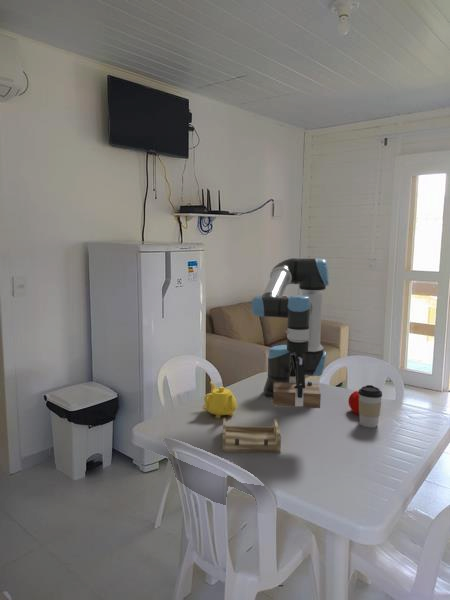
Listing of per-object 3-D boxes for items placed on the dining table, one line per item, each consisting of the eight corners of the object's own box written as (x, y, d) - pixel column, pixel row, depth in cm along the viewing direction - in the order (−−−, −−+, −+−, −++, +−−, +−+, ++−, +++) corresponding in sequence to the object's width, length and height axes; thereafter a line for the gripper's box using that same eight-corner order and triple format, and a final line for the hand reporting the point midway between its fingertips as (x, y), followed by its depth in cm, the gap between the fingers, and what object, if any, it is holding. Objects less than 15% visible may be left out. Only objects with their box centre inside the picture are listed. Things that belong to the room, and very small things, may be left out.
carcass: (223, 432, 170) (223, 418, 169) (275, 432, 170) (276, 419, 169) (222, 451, 154) (222, 436, 153) (280, 452, 154) (281, 437, 153)
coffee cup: (382, 429, 174) (384, 392, 172) (357, 427, 176) (359, 390, 174) (378, 420, 183) (380, 385, 181) (355, 418, 185) (357, 383, 183)
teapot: (193, 408, 194) (193, 383, 192) (224, 403, 200) (224, 378, 199) (213, 425, 176) (213, 397, 174) (246, 419, 182) (246, 392, 181)
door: (273, 395, 166) (273, 379, 165) (317, 397, 164) (317, 381, 164) (273, 405, 155) (273, 389, 155) (320, 408, 154) (320, 391, 153)
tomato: (376, 419, 184) (377, 398, 183) (346, 414, 189) (347, 394, 188) (378, 410, 194) (379, 390, 193) (349, 406, 198) (350, 386, 197)
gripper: (282, 332, 169) (280, 388, 172) (292, 347, 145) (290, 412, 148) (301, 332, 169) (300, 388, 172) (315, 348, 145) (313, 412, 148)
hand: (295, 399), depth 160 cm, fingers closed on door, 11 cm apart
